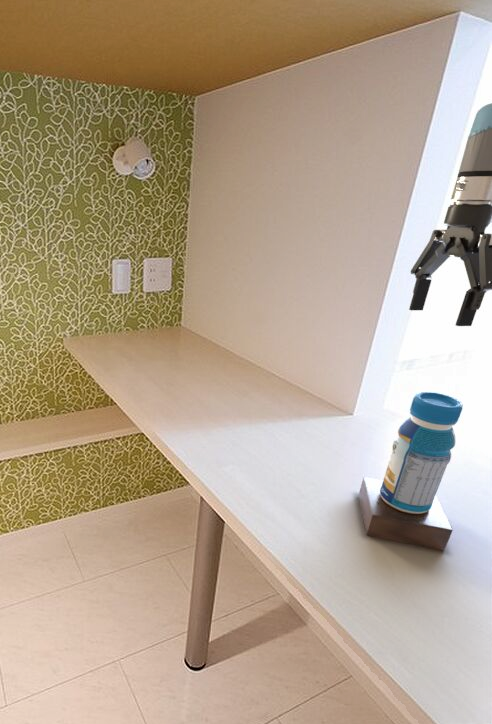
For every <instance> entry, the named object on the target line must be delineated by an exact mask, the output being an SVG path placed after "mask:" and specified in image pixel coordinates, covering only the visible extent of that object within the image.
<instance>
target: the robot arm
mask: <svg viewBox="0 0 492 724" xmlns="http://www.w3.org/2000/svg"><path fill="white" fill-rule="evenodd" d="M450 201H451V202H453V204H450V205H449V206H448V207H447V210H446V213H445V217H444V221H443V225H444V226H446V227H447V228H446V229H433V231H432V233H431V236H430V239H429V241H428V243H427V244H426V245H425V247H424V249H423V250H422V252H421V254H420V255H419V257H418V258H417V259H416V262H415V263H414V265H413V266H412V268H411V270H410V275H414V277H415V283H414V285H413V286H414V287H413V290H412V298H411V301H410V305H409V309H408V310H409V311H423V310H424V307H425V304H426V300H427V297H428V293H429V291H430V287H431V284H432V279H433V278H432V276H433V274H434V273H436V272H437V270H438V269H439V268H440V267H441V266H442V265H443V264H444V263H445V262H446V261H447V260H448V259H449V258H450V257H454V258H459V259H460V260H461V261H463V264H464V268H465V272H466V275H467V279H468V283H469V286H470V288H469V289H467V290H466V292H465V295H464V298H463V301H462V304H461V307H460V310H459V312H458V316H457V319H456V321H455V326H456V327H472V325H473V321H474V319H475V316H476V314H477V310H479V309H480V308H481V305H482V303H483V300H484V297H485V294H486V293H487V292H490V291H492V233H486V229H487V228H489V227H491V226H492V102H491V103H488V104H485V105H483V106H482V107H481V108H480V109H479V110H477V112H476V114H475V116H474V120H473V123H472V125H471V128H470V131H469V134H468V137H467V140H466V143H465V148H464V152H463V156H462V159H461V162H460V165H459V170H458V173H457V178H456V181H455V184H454V187H453V191H452V194H451V198H450Z"/></svg>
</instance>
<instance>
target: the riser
mask: <svg viewBox="0 0 492 724" xmlns="http://www.w3.org/2000/svg"><path fill="white" fill-rule="evenodd" d="M362 478H363V479H362V482H361V485H360V488H359V493H358V495H357V496H358V501H359V506H360V510H361V515H362V519H363V524H364V529H365V535H366V536H370V537H376V538H379V539H384V540H389V541H393V542H399V543H405V544H409V545H413V546H419V547H424V548H428V549H434V550H438V551H442V552H443V551H445V550H446V547H447V545H448V543H449V540H450V537H451V535H452V533H453V531H454V530H453V528H452V526H451V524H450V521H449V520H448V517H447V515H446V513H445V510H444V508H443V507H442V505H441V502H440V500H439V498H438V496H437V494H436V495H435V498H434V500H433V504H432V507H431V509H430V510H429V511H427V512H425V513H422V514H412V513H406V512H403V511H400V510H397V509H395V508H393V507H391V506H390V505H388V504H387V503H386V502H385V501H384V500H383V499H382V498H381V495H380V489H381V486H382V483H383V480H384V479H377V478H370V477H365V476H364V477H362Z"/></svg>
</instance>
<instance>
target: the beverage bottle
mask: <svg viewBox="0 0 492 724" xmlns="http://www.w3.org/2000/svg"><path fill="white" fill-rule="evenodd" d="M462 411H463V403H462V402H461V401H460V400H459V399H457V398H455V397H453V396H450V395H447V394H444V393H439V392H431V391H421V392H418V393H415V394H414V397H413V398H412V400H411V405H410V408H409V415H410V416H409V417H408V418H406V420H405V421H403V422H402V423H401V425H400V426H399V428H398V429H397V434H398V436H397V437H396V438H395V439H394V440H393V443H392V450H391V453H390V457H389V460H388V463H387V467H386V470H385V473H384V477H383V479H382V480H383V483H382V486H381V489H380V495H381V498H382V499H383V500H384V501H385V502H386V503H387V504H388V505H390V506H391V507H393V508H395V509H397V510H400V511H403V512H406V513H412V514H422V513H425V512H427V511H429V510H430V509H431V507H432V504H433V500H434V498H435V495H436V496H437V492H438V489H439V488H440V484H441V483H442V479H443V477H444V474H445V471H446V469H447V466H448V465H449V464H450V462H451V460H452V459H451V458H452V451H451V450H453V448H454V447H455V446H456V434H455V430H454V428H453V426H455V425H456V424H457V423H458V422H459V419H460V416H461V414H462Z"/></svg>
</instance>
